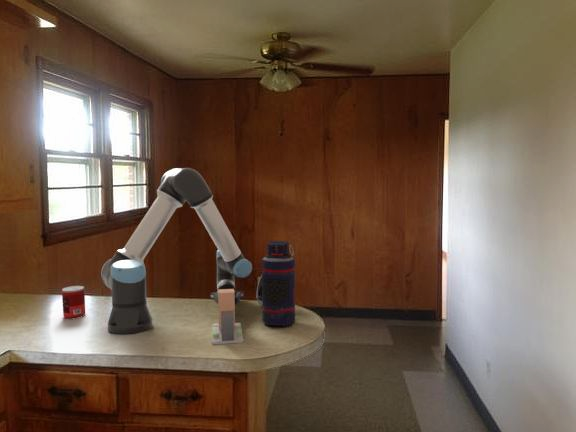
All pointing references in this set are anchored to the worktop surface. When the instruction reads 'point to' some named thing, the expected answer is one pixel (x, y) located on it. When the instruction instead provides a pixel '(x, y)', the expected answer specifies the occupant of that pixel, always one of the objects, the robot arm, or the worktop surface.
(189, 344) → the worktop surface
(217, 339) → the gauge base
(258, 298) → the pump dispenser
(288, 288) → the navy red-striped canister
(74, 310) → the canned food
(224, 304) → the tall salmon pillar
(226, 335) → the dark grey rubber block
